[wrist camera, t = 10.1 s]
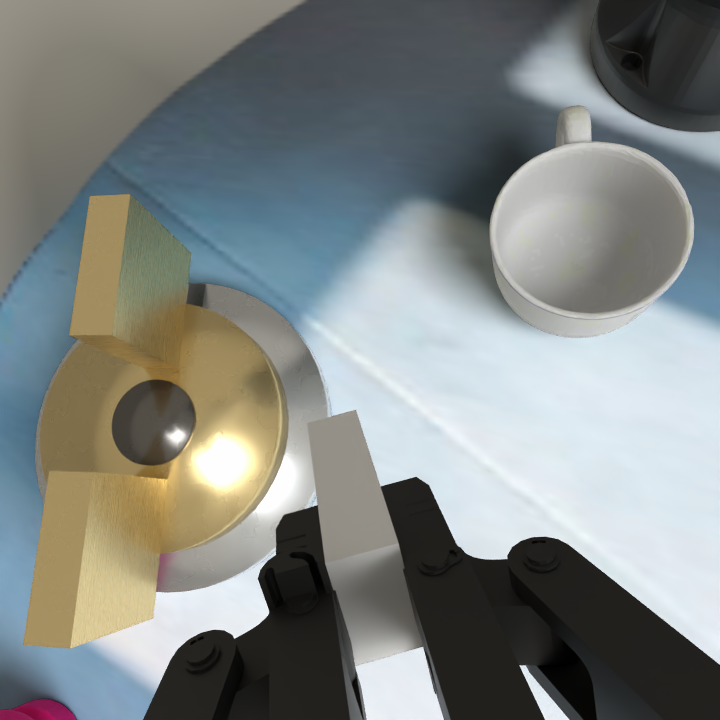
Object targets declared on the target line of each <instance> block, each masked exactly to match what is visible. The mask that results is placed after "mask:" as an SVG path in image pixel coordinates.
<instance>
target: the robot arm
mask: <svg viewBox="0 0 720 720" xmlns="http://www.w3.org/2000/svg"><path fill="white" fill-rule="evenodd" d="M590 50H591V56H592V61H593V64H594V67H595V70H596V72H597V74H598V76H599V78H600V80H601V82H602V83H603V85H604V86H605V88H606V89H607V90H608V91H609V93H610V94H611V95H612V96H613V97H614V98H615V99H616V100H617V101H618V102H619V103H620V104H622V105H623V106H624V107H626V108H627V109H628V110H630V111H631V112H633V113H634V114H636V115H638V116H640V117H642V118H644V119H646V120H648V121H650V122H653V123H656V124H658V125H661V126H665V127H668V128H673V129H678V130H684V131H696V132H709V131H720V0H599V3H598V6H597V10H596V13H595V17H594V20H593V24H592V28H591V35H590ZM307 425H308V433H309V441H310V449H311V457H312V465H313V472H314V480H315V488H316V496H317V504H318V505H317V506H314V507H310V508H306V509H303V510H299V511H295V512H292V513H288V514H284V515H283V517H282V519H281V520H280V522H279V524H278V526H277V528H276V555H275V556H274V557H273V558H271V559H270V560H268V561H267V562H266V564H265V565H264V566H263V567H262V569H261V570H260V573H259V577H258V580H259V583H260V586H261V589H262V592H263V594H264V597H265V600H266V603H267V606H268V608H269V615H268V616H267V617H266V618H265V619H264V620H263V621H262V622H261V623H260V624H259V625H257V626H256V627H254V628H253V629H251V630H250V631H248V632H246V633H245V634H243V635H241V636H239V637H237V638H235V639H234V638H233V635H231V634H229V633H228V632H226V631H223V630H211V631H207V632H203V633H200V634H198V635H196V636H194V637H193V638H191V639H189V640H188V641H187V642H185V643H184V644H183V645H182V646H181V647H180V648H179V649H178V650H177V651H176V653H175V654H174V656H173V657H172V659H171V660H170V663H169V665H168V667H167V669H166V671H165V673H164V676H163V678H162V680H161V682H160V684H159V686H158V689H157V691H156V693H155V695H154V697H153V699H152V702H151V704H150V706H149V708H148V710H147V712H146V715H145V717H144V719H143V720H366V714H365V708H364V702H363V696H362V690H361V685H360V682H359V679H358V675H357V672H356V669H355V664H356V666H357V665H361V664H364V663H368V662H371V661H375V660H378V659H381V658H385V657H388V656H392V655H395V654H399V653H402V652H406V651H409V650H413V649H416V648H419V647H424V651H425V655H426V659H427V663H428V668H429V672H430V676H431V680H432V684H433V688H434V692H435V694H437V698H438V701H439V704H440V708H441V711H442V714H443V718H444V720H545V719H544V717H543V715H542V713H541V710H540V708H539V706H538V704H537V702H536V700H535V698H534V696H533V694H532V692H531V689H530V687H529V685H528V683H527V681H526V679H525V677H524V675H523V673H522V670H521V668H520V666H519V665H526V667H527V668H528V670H529V672H530V674H531V675H532V676H533V677H534V678H535V679H536V681H537V682H538V683H539V684H540V685H541V686H542V688H543V689H544V690H545V691H546V692H547V694H548V695H549V696H550V697H551V698H552V699H553V701H554V702H555V703H556V704H557V705H558V707H559V708H560V709H561V710H562V711H563V712H564V714H565V715H566V716H567V717H568V718H569V719H570V720H720V665H719V664H718V663H717V662H715V661H714V660H713V659H712V658H710V657H709V656H708V655H707V654H705V653H704V652H703V651H702V650H700V649H699V648H698V647H697V646H695V645H694V644H693V643H692V642H690V641H689V640H688V639H686V638H685V637H684V636H683V635H681V634H680V633H679V632H678V631H676V630H675V629H674V628H673V627H671V626H670V625H669V624H668V623H666V622H665V621H664V620H663V619H661V618H660V617H659V616H658V615H656V614H655V613H654V612H652V611H651V610H650V609H649V608H647V607H646V606H645V605H644V604H642V603H641V602H640V601H639V600H637V599H636V598H635V597H634V596H632V595H631V594H630V593H629V592H627V591H626V590H625V589H624V588H622V587H621V586H620V585H618V584H617V583H616V582H615V581H613V580H612V579H611V578H610V577H608V576H607V575H606V574H605V573H603V572H602V571H601V570H600V569H598V568H597V567H596V566H595V565H593V564H592V563H591V562H589V561H588V560H587V559H586V558H584V557H583V556H582V555H581V554H579V553H578V552H577V551H576V550H574V549H573V548H572V547H571V546H569V545H568V544H566V543H564V542H562V541H560V540H559V539H554V538H549V537H532V538H529V539H526V540H523V541H520V542H519V543H518V544H516V545H515V546H513V547H512V549H511V550H510V552H509V554H508V555H507V556H508V559H502V560H485V559H479V558H474V557H472V556H470V555H467V554H466V553H465V552H464V551H463V550H462V549H461V548H460V547H458V546H457V544H456V543H455V540H454V538H453V536H452V534H451V532H450V530H449V527H448V525H447V523H446V521H445V519H444V517H443V515H442V512H441V510H440V509H439V506H438V504H437V502H436V500H435V498H434V495H433V493H432V491H431V489H430V487H429V485H428V484H426V483H425V482H423V481H422V480H420V479H419V478H417V477H414V478H410V479H407V480H403V481H399V482H396V483H392V484H388V485H385V486H381V487H380V484H379V481H378V478H377V474H376V471H375V468H374V465H373V462H372V459H371V456H370V453H369V449H368V446H367V443H366V440H365V437H364V434H363V431H362V428H361V425H360V421H359V418H358V415H357V412H356V410H354V411H350V412H346V413H342V414H339V415H335V416H331V417H327V418H324V419H320V420H316V421H312V422H309V423H307ZM354 660H355V662H354Z"/></svg>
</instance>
